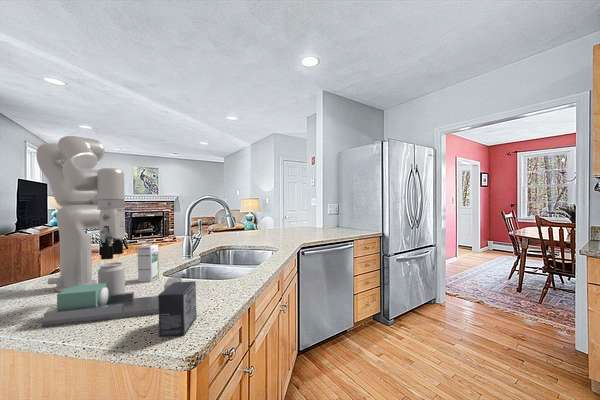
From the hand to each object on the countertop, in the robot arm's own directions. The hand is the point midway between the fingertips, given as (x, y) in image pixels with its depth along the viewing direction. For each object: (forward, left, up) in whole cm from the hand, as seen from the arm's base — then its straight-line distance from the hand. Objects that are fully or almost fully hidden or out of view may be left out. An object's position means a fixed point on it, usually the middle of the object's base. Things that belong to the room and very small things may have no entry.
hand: (112, 256), depth 93 cm
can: (0, +1, -15) cm, 15 cm away
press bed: (+6, -11, -15) cm, 19 cm away
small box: (+24, -28, -15) cm, 40 cm away
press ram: (-3, -11, -13) cm, 17 cm away
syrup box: (+6, +22, -15) cm, 28 cm away
